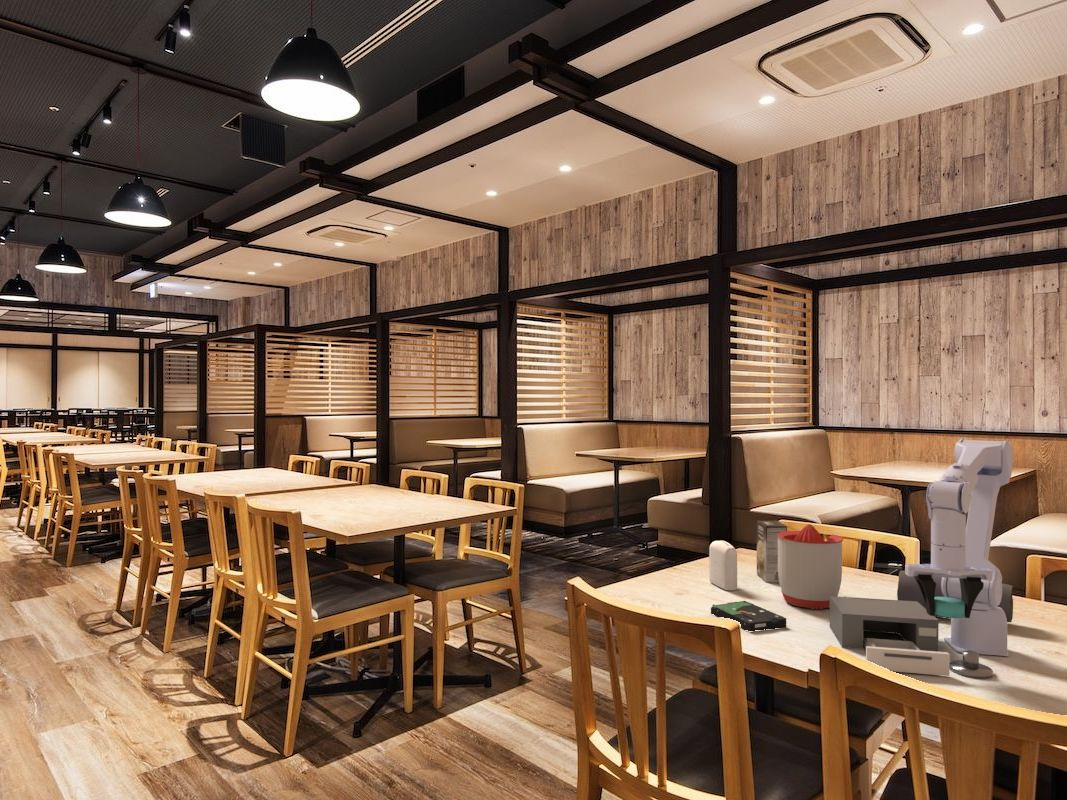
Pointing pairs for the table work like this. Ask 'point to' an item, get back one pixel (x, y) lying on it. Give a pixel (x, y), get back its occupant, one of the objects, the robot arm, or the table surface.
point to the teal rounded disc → (949, 607)
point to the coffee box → (768, 549)
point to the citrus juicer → (809, 567)
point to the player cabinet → (882, 621)
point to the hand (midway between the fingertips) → (947, 615)
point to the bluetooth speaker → (912, 592)
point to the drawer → (905, 657)
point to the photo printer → (723, 565)
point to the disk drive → (749, 616)
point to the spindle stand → (970, 666)
